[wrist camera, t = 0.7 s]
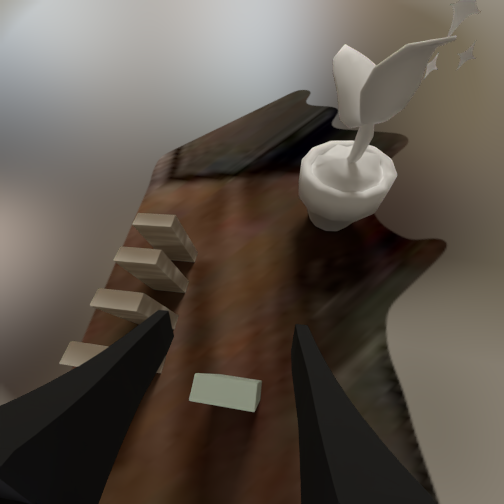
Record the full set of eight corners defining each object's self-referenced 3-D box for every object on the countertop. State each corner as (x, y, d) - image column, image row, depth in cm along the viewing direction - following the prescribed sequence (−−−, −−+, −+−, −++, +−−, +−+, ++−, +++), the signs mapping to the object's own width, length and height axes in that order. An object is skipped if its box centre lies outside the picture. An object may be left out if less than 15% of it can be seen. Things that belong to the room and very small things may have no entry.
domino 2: (185, 293, 30) (155, 264, 22) (153, 289, 30) (113, 260, 23) (188, 281, 31) (161, 249, 23) (157, 278, 31) (120, 246, 24)
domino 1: (194, 262, 32) (170, 226, 25) (164, 259, 33) (132, 224, 25) (197, 252, 33) (175, 215, 25) (168, 250, 34) (138, 213, 26)
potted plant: (379, 238, 32) (604, -43, 10) (304, 252, 32) (375, -7, 10) (347, 183, 38) (443, -61, 17) (284, 194, 38) (302, -39, 17)
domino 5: (260, 399, 23) (254, 412, 15) (215, 392, 23) (188, 400, 16) (261, 380, 24) (257, 383, 16) (219, 374, 24) (195, 373, 17)
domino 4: (161, 373, 25) (111, 372, 17) (123, 366, 26) (59, 363, 18) (166, 356, 26) (121, 348, 18) (129, 350, 26) (70, 340, 19)
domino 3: (174, 329, 27) (136, 311, 20) (139, 324, 28) (89, 305, 20) (178, 315, 28) (143, 293, 20) (144, 311, 29) (98, 288, 21)
